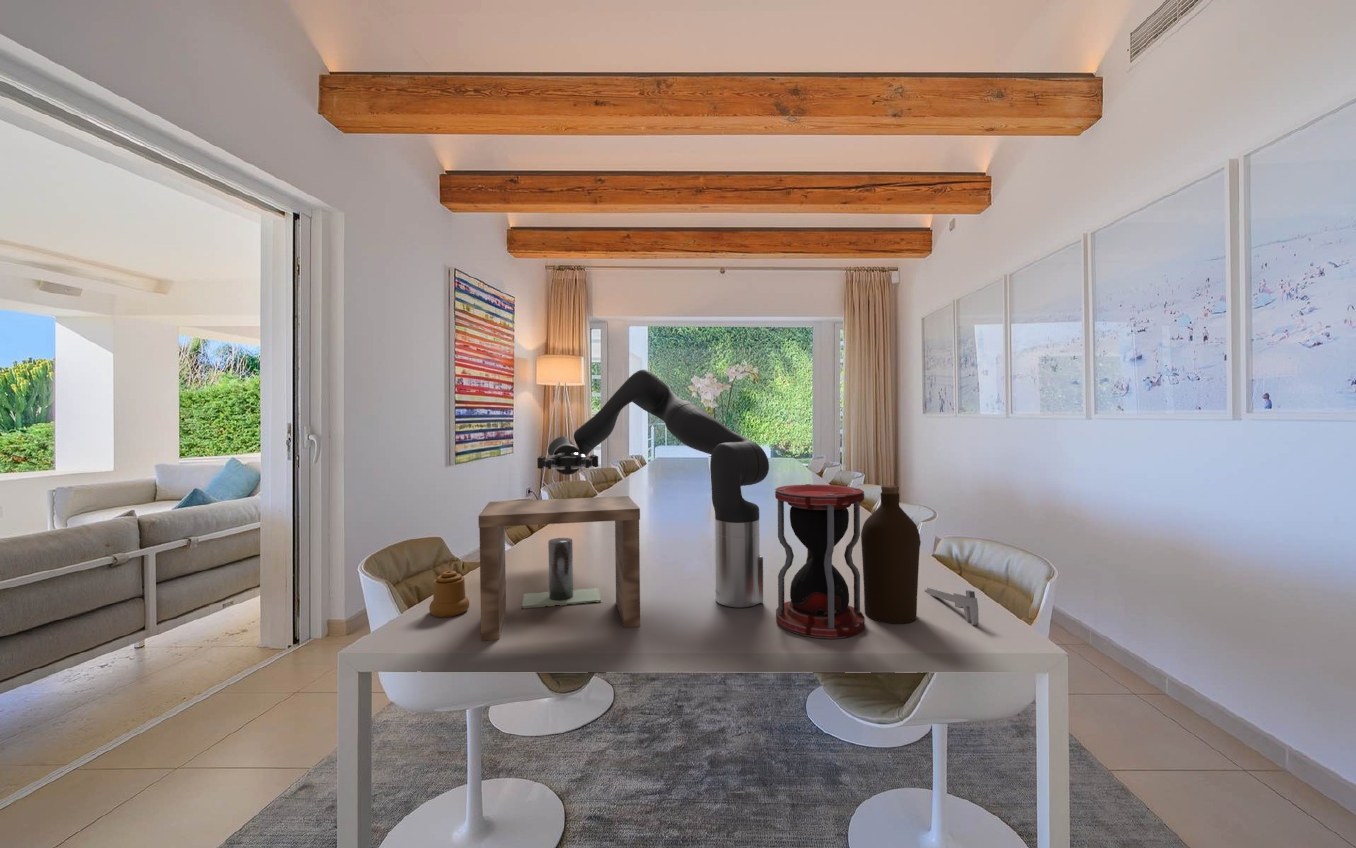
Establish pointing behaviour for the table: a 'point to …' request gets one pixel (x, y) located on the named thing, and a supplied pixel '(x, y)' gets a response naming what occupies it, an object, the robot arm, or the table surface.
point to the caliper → (960, 602)
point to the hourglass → (819, 561)
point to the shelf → (556, 513)
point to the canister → (560, 569)
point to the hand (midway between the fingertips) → (568, 464)
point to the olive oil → (890, 561)
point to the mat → (578, 597)
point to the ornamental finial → (449, 595)
